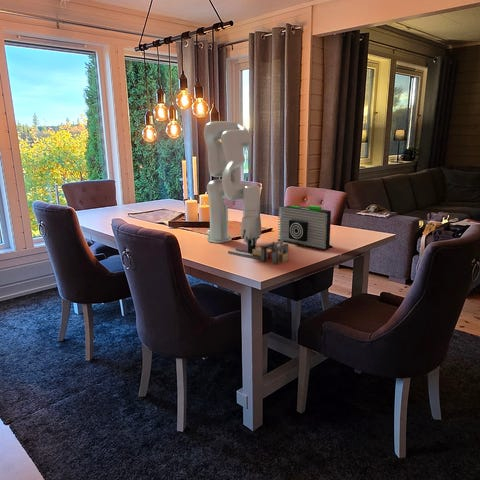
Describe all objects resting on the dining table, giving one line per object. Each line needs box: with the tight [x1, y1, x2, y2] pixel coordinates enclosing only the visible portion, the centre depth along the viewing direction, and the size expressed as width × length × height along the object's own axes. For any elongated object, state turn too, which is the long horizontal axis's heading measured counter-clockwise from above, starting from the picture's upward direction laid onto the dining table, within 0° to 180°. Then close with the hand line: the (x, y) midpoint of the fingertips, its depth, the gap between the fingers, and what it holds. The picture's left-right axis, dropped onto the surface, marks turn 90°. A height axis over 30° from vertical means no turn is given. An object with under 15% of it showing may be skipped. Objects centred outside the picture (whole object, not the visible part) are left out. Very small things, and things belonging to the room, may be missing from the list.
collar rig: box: [260, 240, 289, 265], centre depth 176 cm, size 8×11×8 cm
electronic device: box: [277, 204, 333, 252], centre depth 199 cm, size 28×11×20 cm, turn 45°
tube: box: [252, 246, 289, 264], centre depth 179 cm, size 16×4×4 cm, turn 52°
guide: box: [227, 247, 261, 261], centre depth 185 cm, size 19×7×1 cm, turn 53°
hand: (251, 252), depth 184 cm, fingers closed
